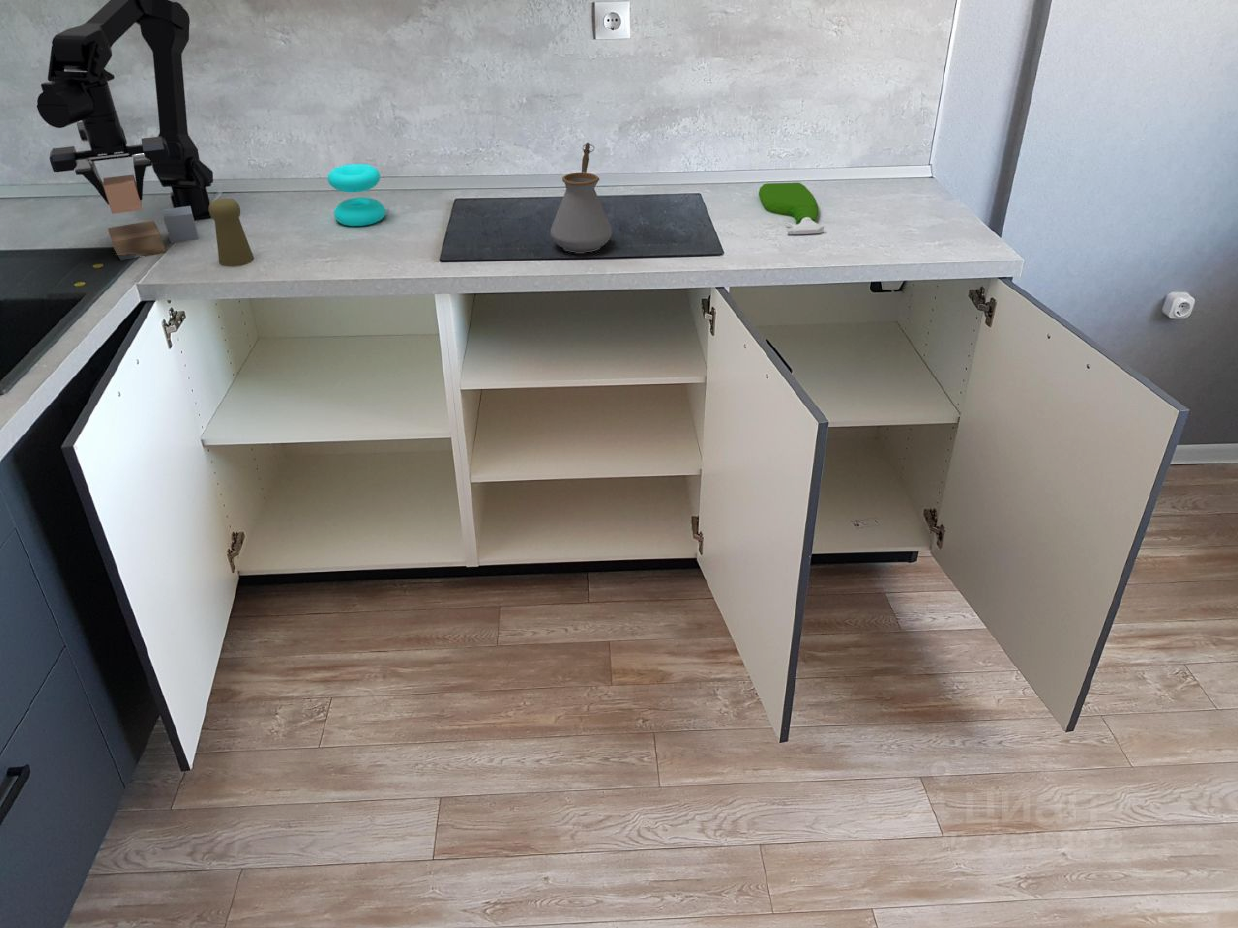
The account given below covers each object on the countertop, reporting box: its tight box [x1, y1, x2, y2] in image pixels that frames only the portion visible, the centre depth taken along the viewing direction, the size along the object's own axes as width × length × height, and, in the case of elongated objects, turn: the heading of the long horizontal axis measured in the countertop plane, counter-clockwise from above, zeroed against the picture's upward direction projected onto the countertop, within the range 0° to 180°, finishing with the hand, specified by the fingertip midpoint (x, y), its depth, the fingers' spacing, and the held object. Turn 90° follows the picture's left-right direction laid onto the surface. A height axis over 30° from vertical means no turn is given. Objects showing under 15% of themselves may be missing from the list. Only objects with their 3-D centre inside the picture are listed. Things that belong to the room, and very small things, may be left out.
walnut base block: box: [107, 220, 167, 257], centre depth 175 cm, size 8×8×4 cm
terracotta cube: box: [102, 173, 143, 214], centre depth 170 cm, size 5×5×5 cm
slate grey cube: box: [162, 206, 200, 244], centre depth 181 cm, size 5×5×5 cm
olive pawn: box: [209, 198, 255, 267], centre depth 169 cm, size 6×6×11 cm
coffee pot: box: [550, 142, 613, 252], centre depth 176 cm, size 21×12×15 cm, turn 176°
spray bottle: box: [758, 182, 825, 235], centre depth 190 cm, size 3×11×24 cm
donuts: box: [327, 163, 386, 227], centre depth 186 cm, size 10×10×10 cm
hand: (125, 201), depth 171 cm, fingers closed on terracotta cube, 5 cm apart
